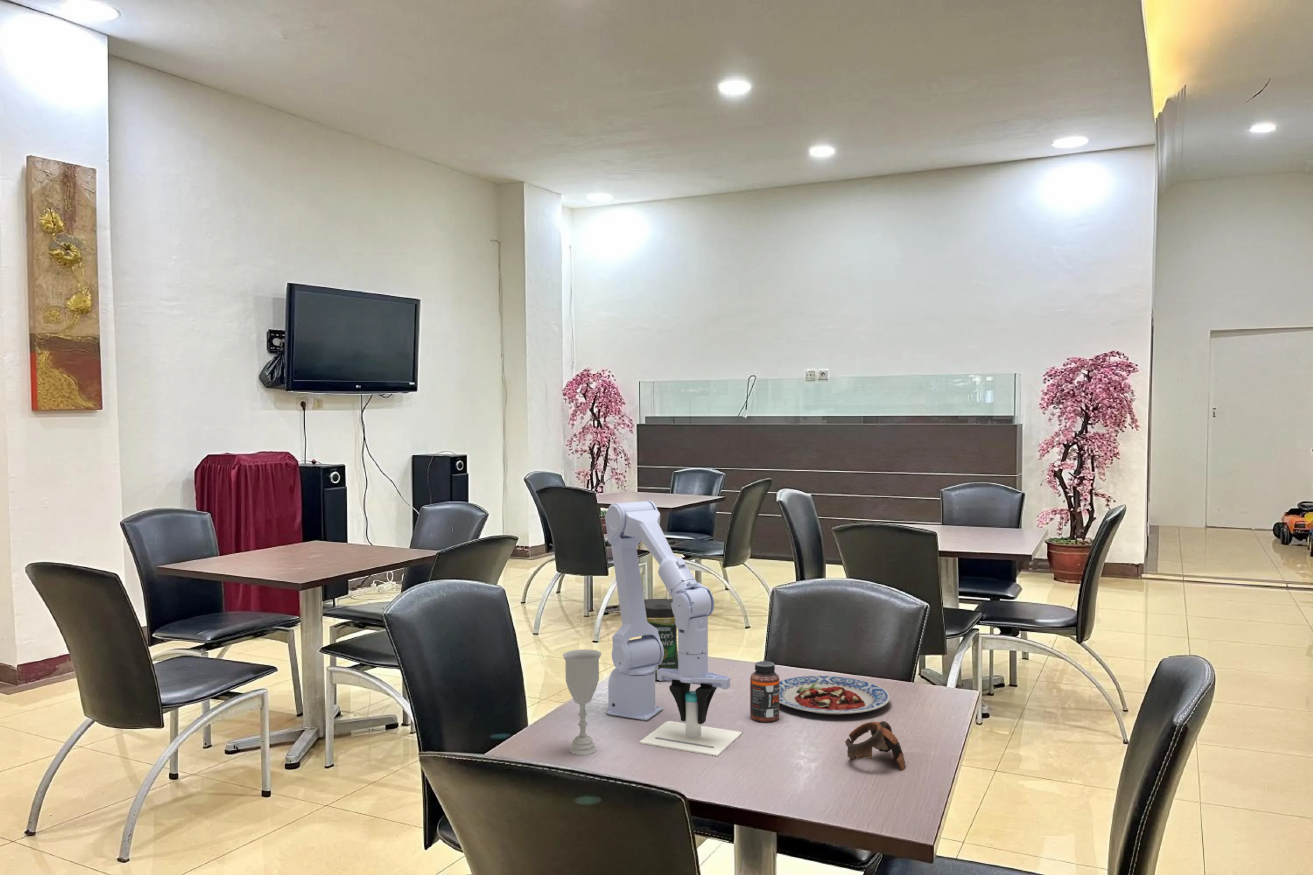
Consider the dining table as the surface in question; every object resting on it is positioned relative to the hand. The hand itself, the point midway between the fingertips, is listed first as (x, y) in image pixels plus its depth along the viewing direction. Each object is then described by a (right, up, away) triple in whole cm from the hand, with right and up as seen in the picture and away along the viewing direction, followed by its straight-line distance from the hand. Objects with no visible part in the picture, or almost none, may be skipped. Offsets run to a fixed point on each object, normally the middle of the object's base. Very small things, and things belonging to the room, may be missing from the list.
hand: (693, 720), depth 179 cm
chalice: (-21, -4, -5) cm, 22 cm away
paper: (0, -3, 0) cm, 3 cm away
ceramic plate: (+30, -3, +22) cm, 38 cm away
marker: (0, -3, 0) cm, 3 cm away
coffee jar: (-6, -2, +41) cm, 41 cm away
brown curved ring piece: (+33, -4, -12) cm, 35 cm away
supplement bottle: (+15, -3, +12) cm, 19 cm away
